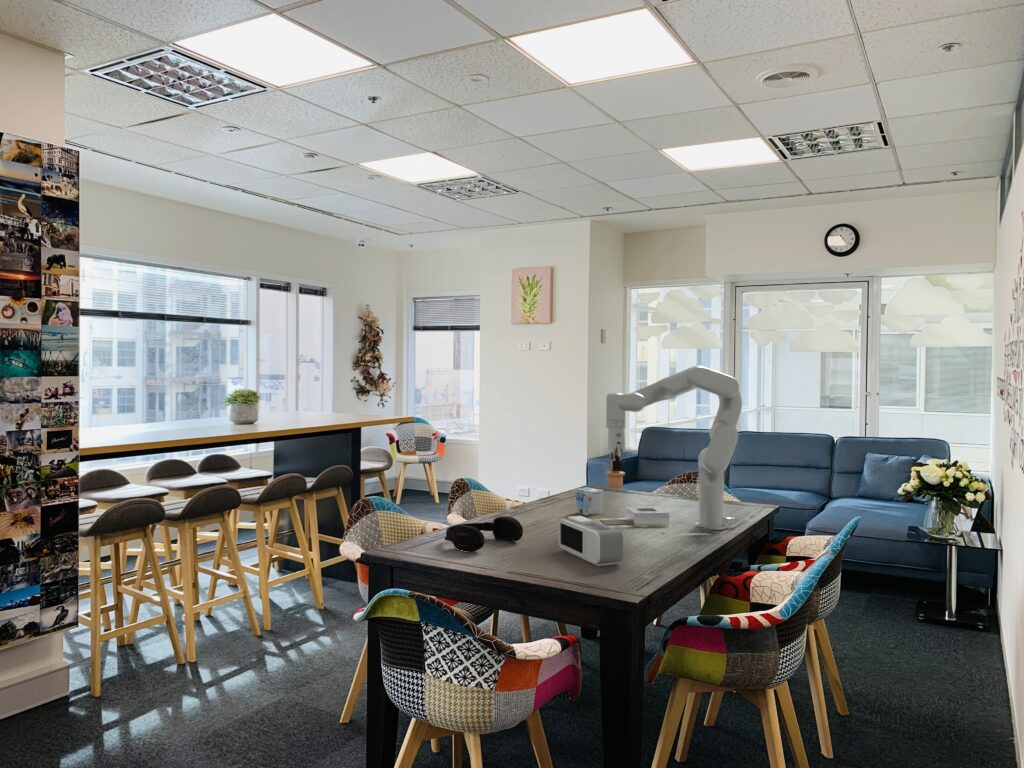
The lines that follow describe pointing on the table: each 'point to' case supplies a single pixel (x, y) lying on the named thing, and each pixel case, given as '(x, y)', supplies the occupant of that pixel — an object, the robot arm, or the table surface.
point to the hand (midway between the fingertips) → (615, 469)
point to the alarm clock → (590, 540)
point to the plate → (639, 518)
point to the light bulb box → (589, 501)
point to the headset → (473, 538)
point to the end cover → (614, 477)
